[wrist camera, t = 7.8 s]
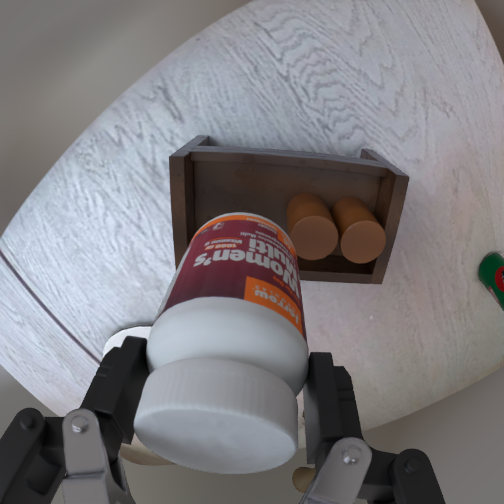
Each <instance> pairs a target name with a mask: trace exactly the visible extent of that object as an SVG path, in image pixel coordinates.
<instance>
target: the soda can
mask: <svg viewBox="0 0 504 504" xmlns="http://www.w3.org/2000/svg"><path fill="white" fill-rule="evenodd" d="M478 276H479V280H480V281H481V282H482V284H483V285H484V286H485V287H486V289H487V290H488V291H489V293H490V294H491V295H492V296H493V298H494V299H495V300H496V302H497V303H498V304H499V306H500V307H501V308H502V310H503V311H504V258H503V257H502V256H501V255H500V254H491V255H489V256H487V257H486V258H485V259H484V260H483V262H482V263H481V265H480V268H479V273H478Z"/></svg>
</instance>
